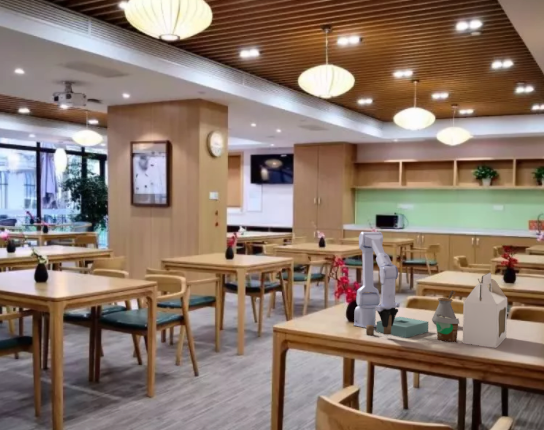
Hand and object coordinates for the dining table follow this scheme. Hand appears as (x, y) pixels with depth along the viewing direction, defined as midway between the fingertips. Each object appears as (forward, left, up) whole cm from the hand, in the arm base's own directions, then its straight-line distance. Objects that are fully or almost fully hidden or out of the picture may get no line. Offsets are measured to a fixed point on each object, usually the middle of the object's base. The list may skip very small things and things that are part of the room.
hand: (387, 326), depth 243 cm
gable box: (+29, +29, -5) cm, 41 cm away
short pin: (-9, 0, -5) cm, 10 cm away
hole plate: (-3, +16, -5) cm, 17 cm away
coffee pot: (+2, +46, -5) cm, 46 cm away
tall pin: (0, 0, -3) cm, 3 cm away
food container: (+17, +16, -5) cm, 24 cm away
